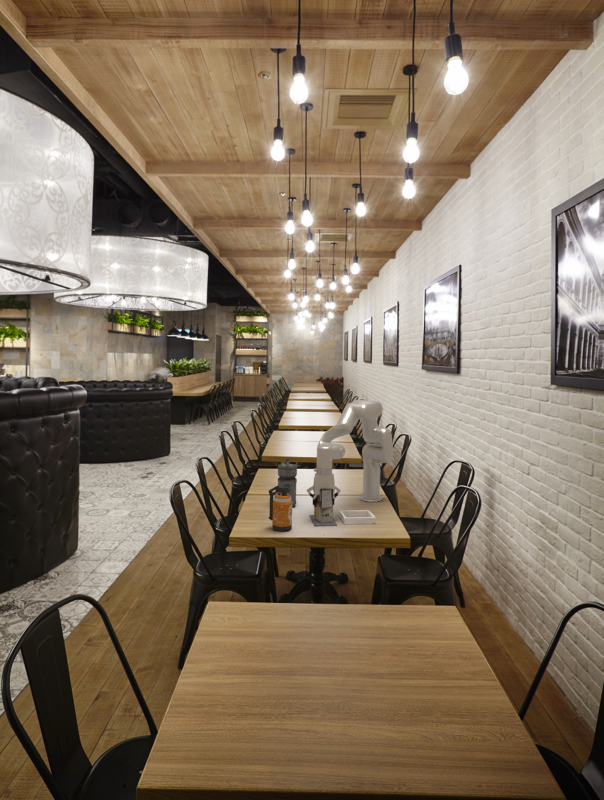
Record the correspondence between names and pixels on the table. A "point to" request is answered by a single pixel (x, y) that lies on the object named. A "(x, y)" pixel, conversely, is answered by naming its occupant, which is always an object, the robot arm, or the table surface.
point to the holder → (357, 517)
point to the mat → (318, 523)
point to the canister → (280, 508)
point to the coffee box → (324, 506)
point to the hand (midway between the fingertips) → (323, 506)
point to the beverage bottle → (288, 478)
